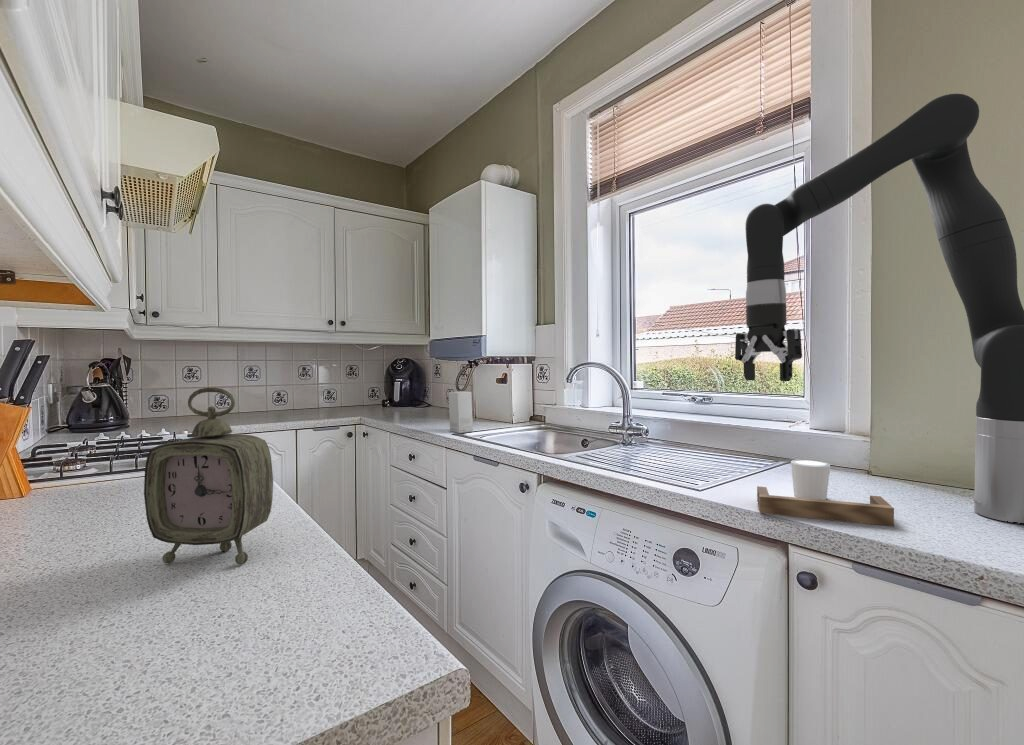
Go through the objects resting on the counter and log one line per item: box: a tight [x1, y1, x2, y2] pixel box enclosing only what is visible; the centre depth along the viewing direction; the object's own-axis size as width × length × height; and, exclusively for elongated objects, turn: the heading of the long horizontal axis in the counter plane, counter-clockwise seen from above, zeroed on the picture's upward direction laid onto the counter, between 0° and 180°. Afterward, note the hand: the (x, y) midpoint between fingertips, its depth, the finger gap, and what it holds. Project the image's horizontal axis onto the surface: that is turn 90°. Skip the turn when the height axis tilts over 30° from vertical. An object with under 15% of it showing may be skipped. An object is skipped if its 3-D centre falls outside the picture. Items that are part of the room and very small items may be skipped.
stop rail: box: [756, 485, 895, 527], centre depth 90 cm, size 20×8×3 cm, turn 67°
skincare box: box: [448, 390, 474, 434], centre depth 193 cm, size 8×7×16 cm
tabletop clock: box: [143, 387, 274, 565], centre depth 73 cm, size 14×9×25 cm, turn 87°
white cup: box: [790, 459, 831, 500], centre depth 100 cm, size 7×7×7 cm
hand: (767, 380), depth 105 cm, fingers open, 8 cm apart
